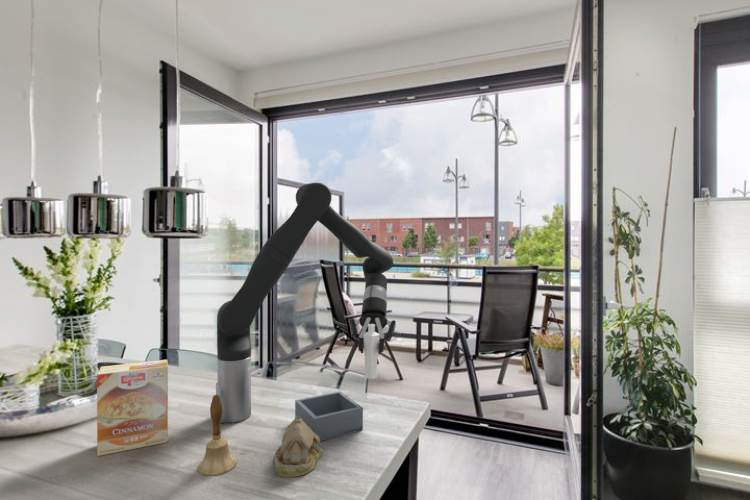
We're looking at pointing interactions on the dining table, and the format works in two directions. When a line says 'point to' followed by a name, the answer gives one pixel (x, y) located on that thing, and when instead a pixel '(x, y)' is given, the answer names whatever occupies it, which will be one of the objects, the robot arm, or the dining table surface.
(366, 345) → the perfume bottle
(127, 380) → the coffeecake box
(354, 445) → the dining table surface
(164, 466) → the dining table surface
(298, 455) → the ceramic model
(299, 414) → the tote
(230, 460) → the hand bell
